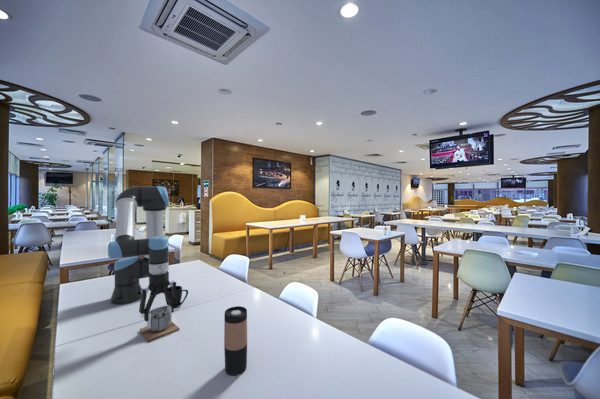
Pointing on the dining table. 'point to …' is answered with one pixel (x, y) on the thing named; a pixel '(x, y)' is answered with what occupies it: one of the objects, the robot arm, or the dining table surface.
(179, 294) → the mug
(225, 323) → the travel mug
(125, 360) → the dining table surface
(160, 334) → the shaft stand
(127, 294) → the robot arm
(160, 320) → the ring
